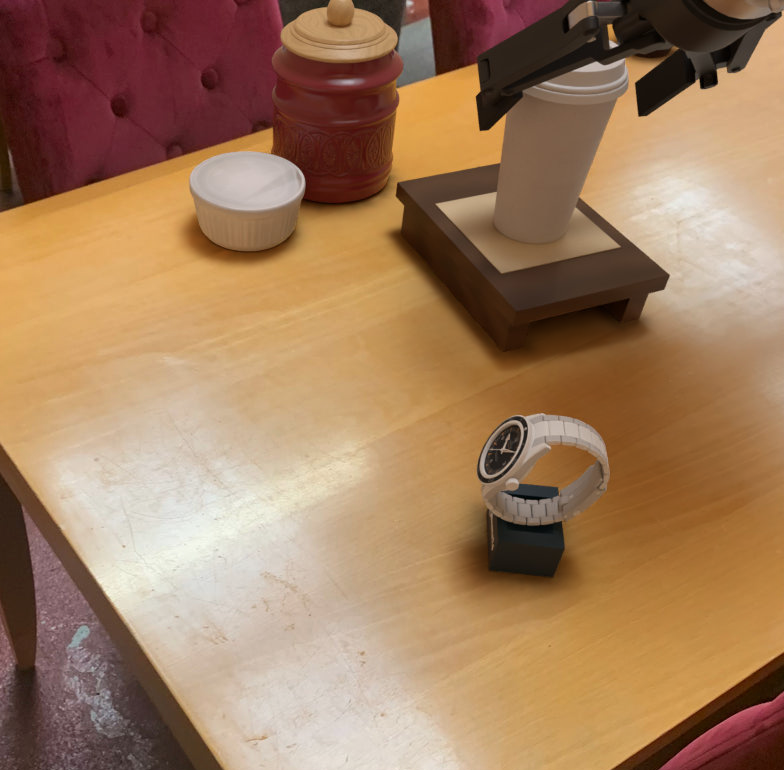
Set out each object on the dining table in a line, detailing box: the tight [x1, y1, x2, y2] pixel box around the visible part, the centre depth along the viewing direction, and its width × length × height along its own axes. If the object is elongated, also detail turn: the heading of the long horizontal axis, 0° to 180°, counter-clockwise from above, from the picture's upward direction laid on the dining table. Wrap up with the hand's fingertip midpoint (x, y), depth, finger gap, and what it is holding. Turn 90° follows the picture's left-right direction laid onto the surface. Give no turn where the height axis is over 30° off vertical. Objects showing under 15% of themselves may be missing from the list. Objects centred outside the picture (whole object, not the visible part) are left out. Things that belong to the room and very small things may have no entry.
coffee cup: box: [493, 39, 630, 244], centre depth 75 cm, size 10×10×15 cm
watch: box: [476, 412, 611, 578], centre depth 58 cm, size 6×8×11 cm
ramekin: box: [188, 150, 305, 252], centre depth 87 cm, size 11×11×5 cm
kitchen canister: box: [270, 0, 405, 204], centre depth 90 cm, size 13×13×18 cm
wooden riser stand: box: [395, 162, 671, 352], centre depth 82 cm, size 22×15×5 cm
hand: (562, 106), depth 71 cm, fingers open, 13 cm apart
